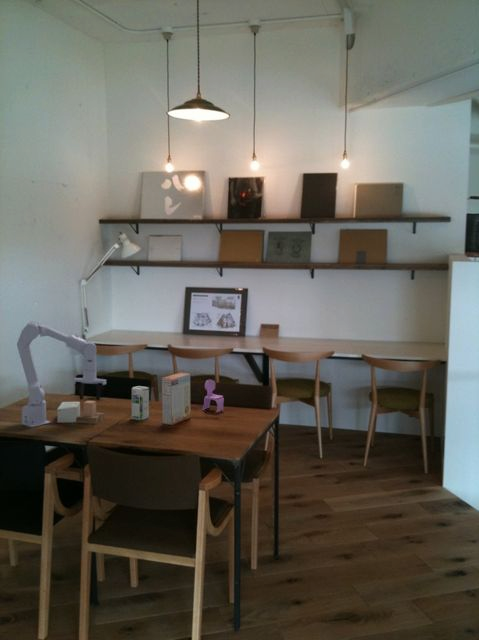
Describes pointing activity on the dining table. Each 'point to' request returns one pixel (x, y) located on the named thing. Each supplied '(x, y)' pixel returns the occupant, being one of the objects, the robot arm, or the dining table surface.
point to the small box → (68, 412)
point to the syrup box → (140, 403)
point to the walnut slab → (90, 418)
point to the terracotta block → (89, 408)
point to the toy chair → (212, 396)
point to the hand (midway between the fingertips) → (89, 399)
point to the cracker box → (175, 398)
